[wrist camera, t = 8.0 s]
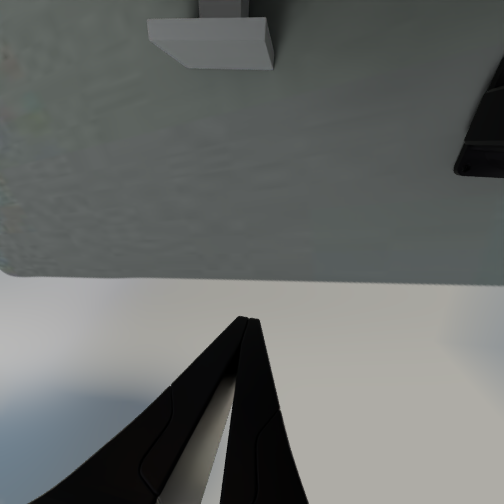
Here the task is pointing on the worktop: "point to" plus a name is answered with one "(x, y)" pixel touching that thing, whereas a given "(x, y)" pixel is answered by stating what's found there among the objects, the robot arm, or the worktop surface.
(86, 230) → the worktop surface
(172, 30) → the tray
